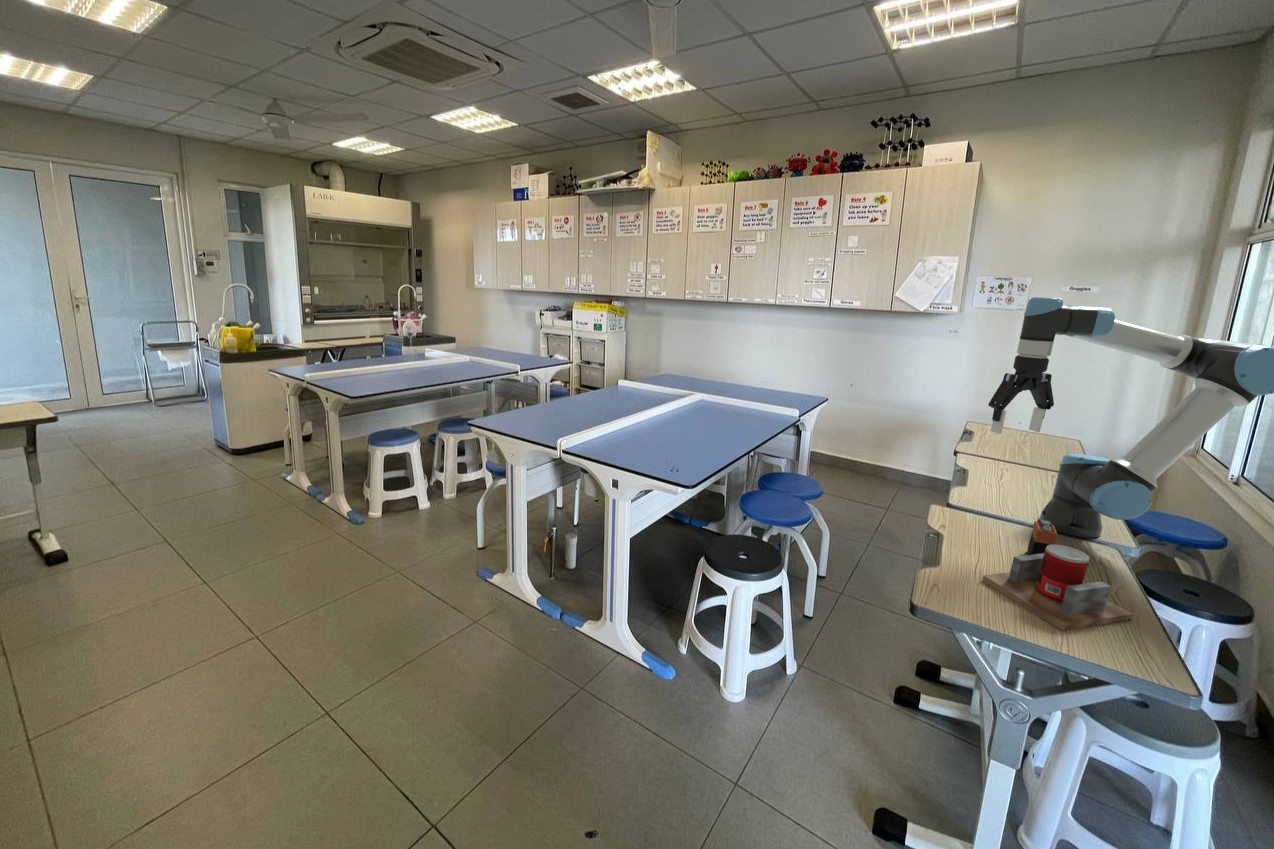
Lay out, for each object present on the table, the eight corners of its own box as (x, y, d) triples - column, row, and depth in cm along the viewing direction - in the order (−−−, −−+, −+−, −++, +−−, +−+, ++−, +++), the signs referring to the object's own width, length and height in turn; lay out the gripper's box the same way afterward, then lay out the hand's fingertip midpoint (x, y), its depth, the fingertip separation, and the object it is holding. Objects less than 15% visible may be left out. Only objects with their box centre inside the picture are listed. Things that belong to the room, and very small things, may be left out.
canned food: (1084, 606, 122) (1097, 562, 119) (1045, 601, 123) (1056, 557, 120) (1066, 588, 129) (1077, 546, 126) (1028, 583, 130) (1039, 542, 127)
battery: (1046, 554, 148) (1054, 521, 146) (1049, 565, 143) (1058, 530, 140) (1026, 550, 150) (1035, 517, 148) (1029, 560, 145) (1038, 526, 142)
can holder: (1045, 572, 139) (1052, 546, 137) (1130, 619, 120) (1140, 590, 118) (982, 580, 134) (988, 553, 132) (1061, 630, 115) (1069, 599, 113)
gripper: (1054, 354, 152) (1037, 426, 157) (983, 353, 146) (968, 429, 151) (1081, 358, 145) (1062, 433, 150) (1008, 358, 139) (991, 437, 144)
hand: (1015, 431), depth 151 cm, fingers open, 13 cm apart
